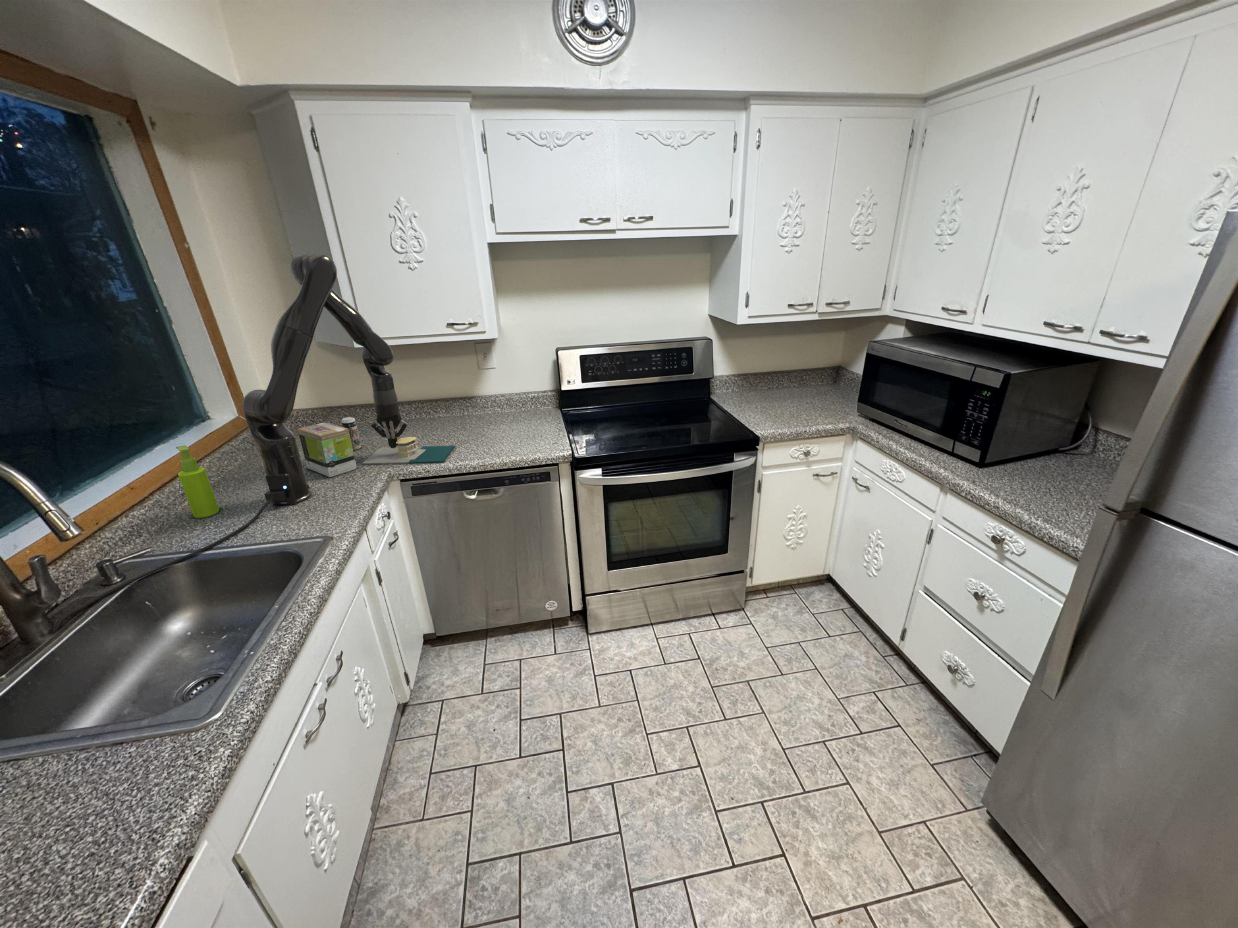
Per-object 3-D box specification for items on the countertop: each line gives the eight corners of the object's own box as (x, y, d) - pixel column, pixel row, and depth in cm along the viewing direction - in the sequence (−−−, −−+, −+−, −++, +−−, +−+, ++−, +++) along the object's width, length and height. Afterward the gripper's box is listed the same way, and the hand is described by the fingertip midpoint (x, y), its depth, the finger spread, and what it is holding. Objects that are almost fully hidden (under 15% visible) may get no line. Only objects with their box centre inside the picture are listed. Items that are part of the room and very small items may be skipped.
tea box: (358, 468, 174) (349, 427, 168) (329, 478, 166) (318, 436, 161) (335, 459, 182) (325, 420, 176) (306, 468, 174) (295, 428, 168)
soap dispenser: (214, 505, 148) (192, 441, 141) (222, 512, 144) (199, 447, 137) (190, 512, 144) (165, 447, 137) (196, 520, 140) (172, 453, 133)
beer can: (355, 451, 190) (349, 420, 185) (344, 450, 191) (337, 420, 186) (364, 446, 194) (357, 417, 190) (353, 446, 195) (346, 416, 190)
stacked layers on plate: (414, 459, 180) (411, 445, 178) (390, 458, 180) (387, 444, 178) (426, 449, 189) (424, 435, 187) (403, 449, 190) (401, 435, 188)
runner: (443, 462, 178) (442, 461, 178) (362, 464, 177) (362, 463, 177) (454, 447, 193) (454, 445, 193) (380, 448, 192) (379, 447, 192)
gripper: (362, 404, 173) (371, 451, 180) (401, 404, 174) (409, 450, 181) (370, 398, 180) (379, 444, 187) (408, 398, 181) (415, 443, 188)
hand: (394, 447), depth 184 cm, fingers closed
